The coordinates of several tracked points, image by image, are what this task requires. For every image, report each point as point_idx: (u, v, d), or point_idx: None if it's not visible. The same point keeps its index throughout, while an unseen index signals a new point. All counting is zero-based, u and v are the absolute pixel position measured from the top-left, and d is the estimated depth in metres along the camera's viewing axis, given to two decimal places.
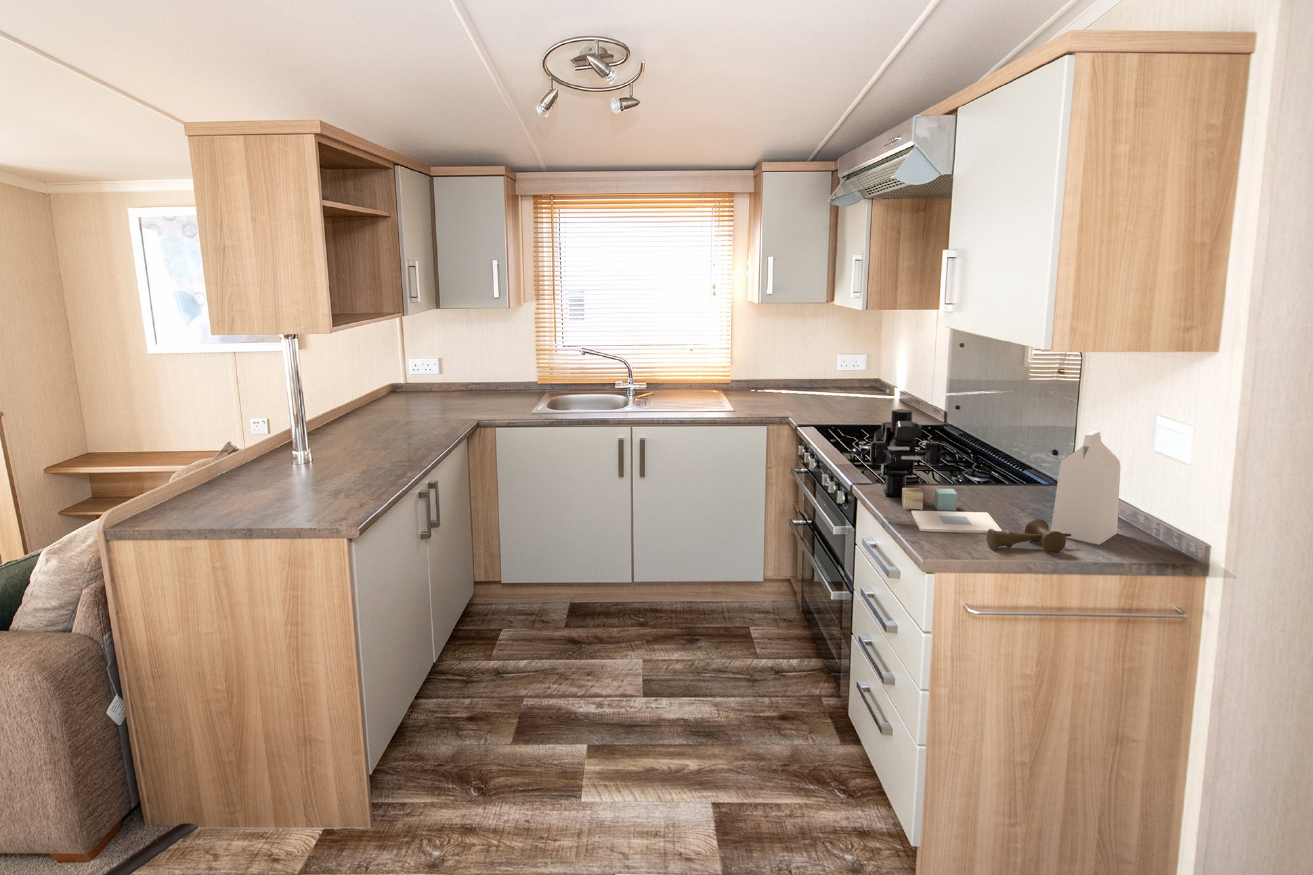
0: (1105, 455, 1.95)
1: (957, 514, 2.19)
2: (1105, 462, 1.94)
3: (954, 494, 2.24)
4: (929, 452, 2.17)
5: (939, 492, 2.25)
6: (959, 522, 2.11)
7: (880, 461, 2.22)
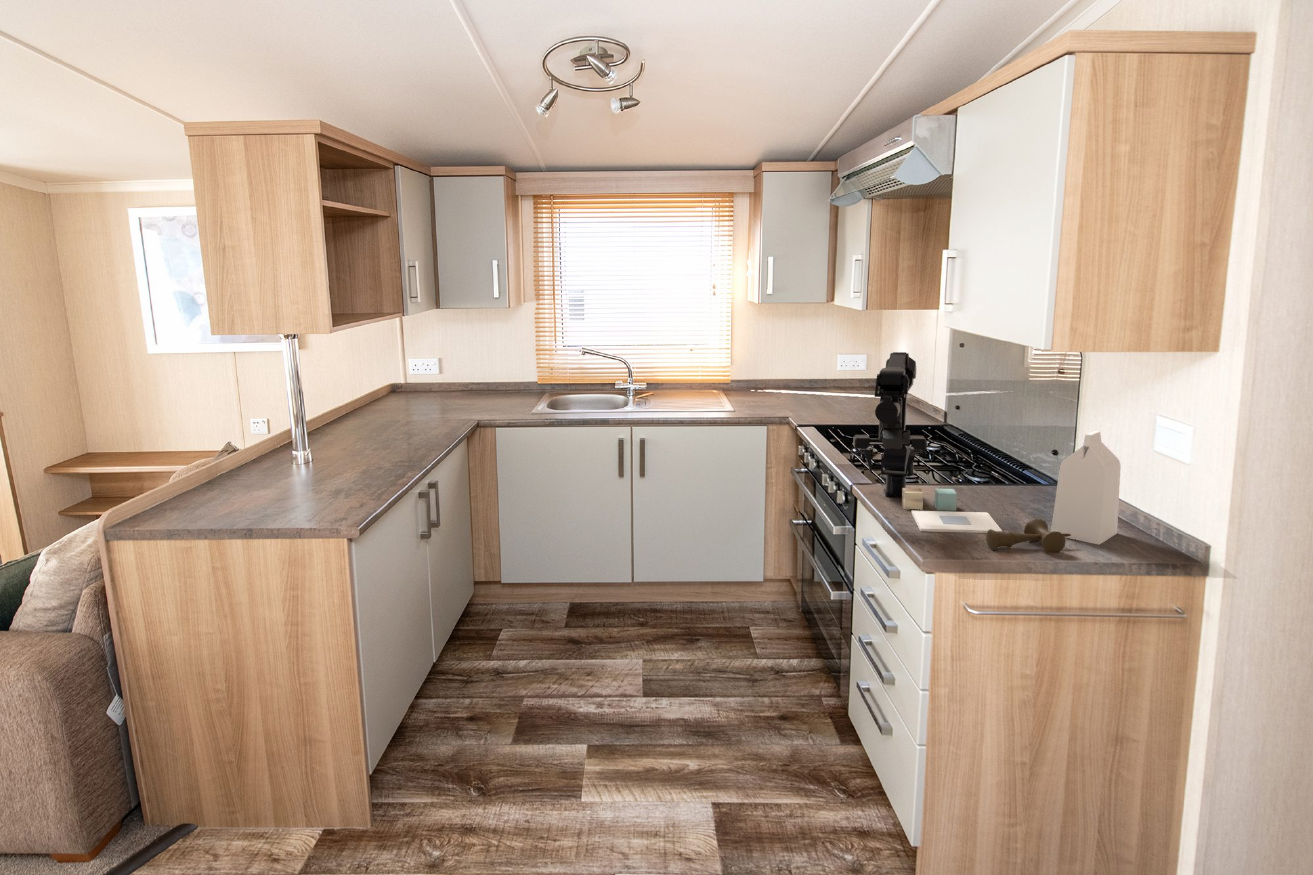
0: (1105, 455, 1.95)
1: (957, 514, 2.19)
2: (1105, 462, 1.94)
3: (954, 494, 2.24)
4: (911, 460, 2.16)
5: (939, 492, 2.25)
6: (959, 522, 2.11)
7: None
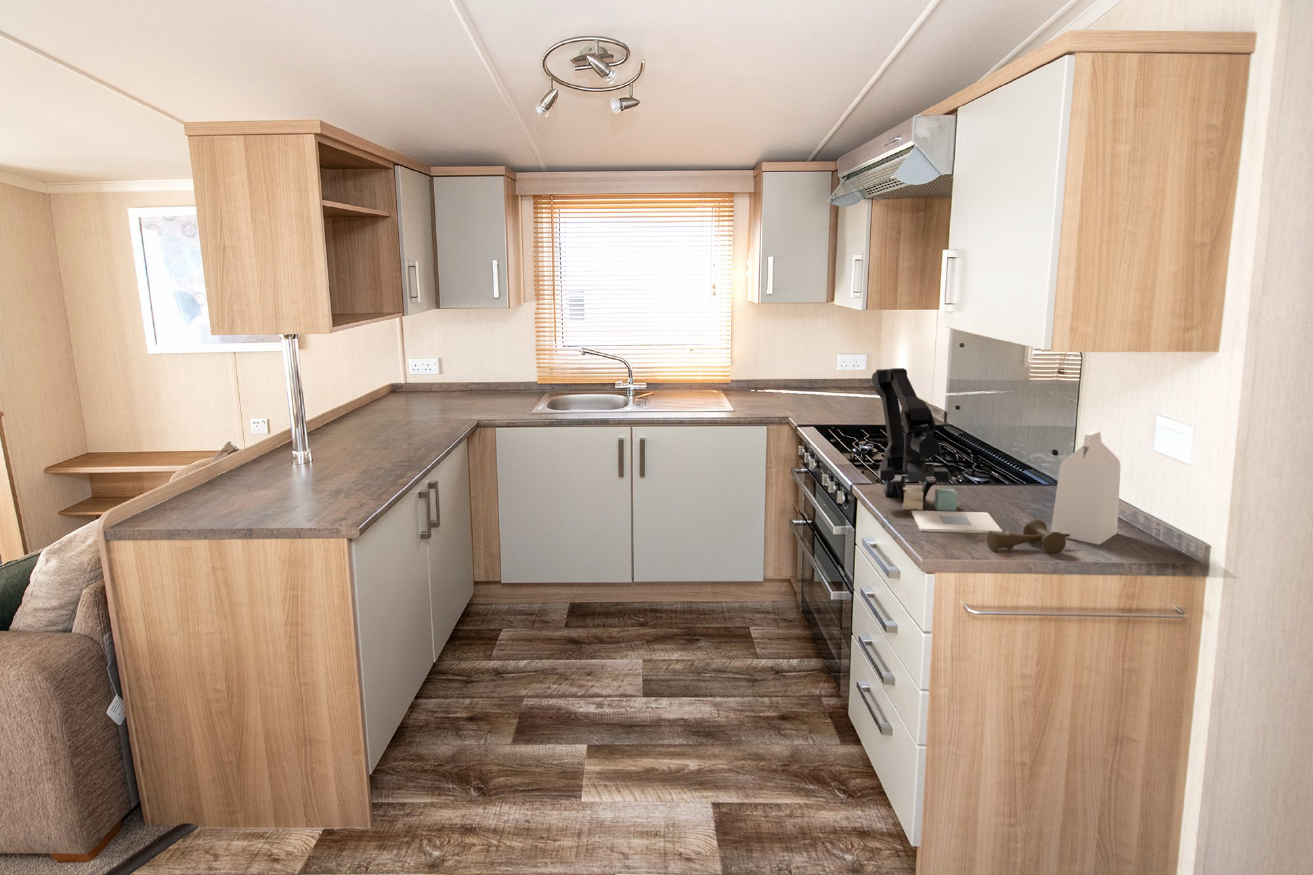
0: (1105, 455, 1.95)
1: (957, 514, 2.19)
2: (1105, 462, 1.94)
3: (954, 494, 2.24)
4: (927, 491, 2.26)
5: (939, 492, 2.25)
6: (959, 522, 2.11)
7: None
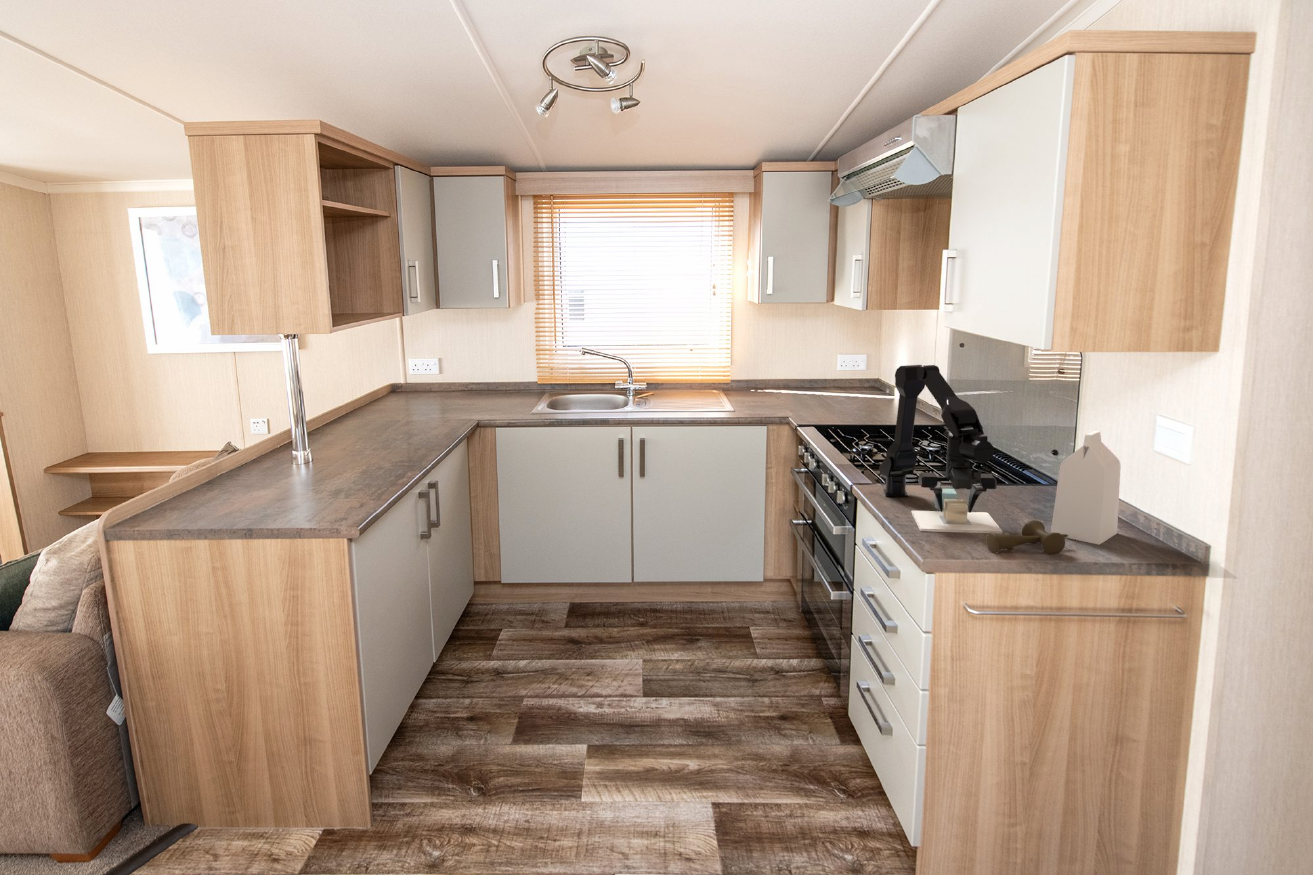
0: (1105, 455, 1.95)
1: None
2: (1105, 462, 1.94)
3: (954, 494, 2.24)
4: (975, 499, 2.10)
5: None
6: None
7: None
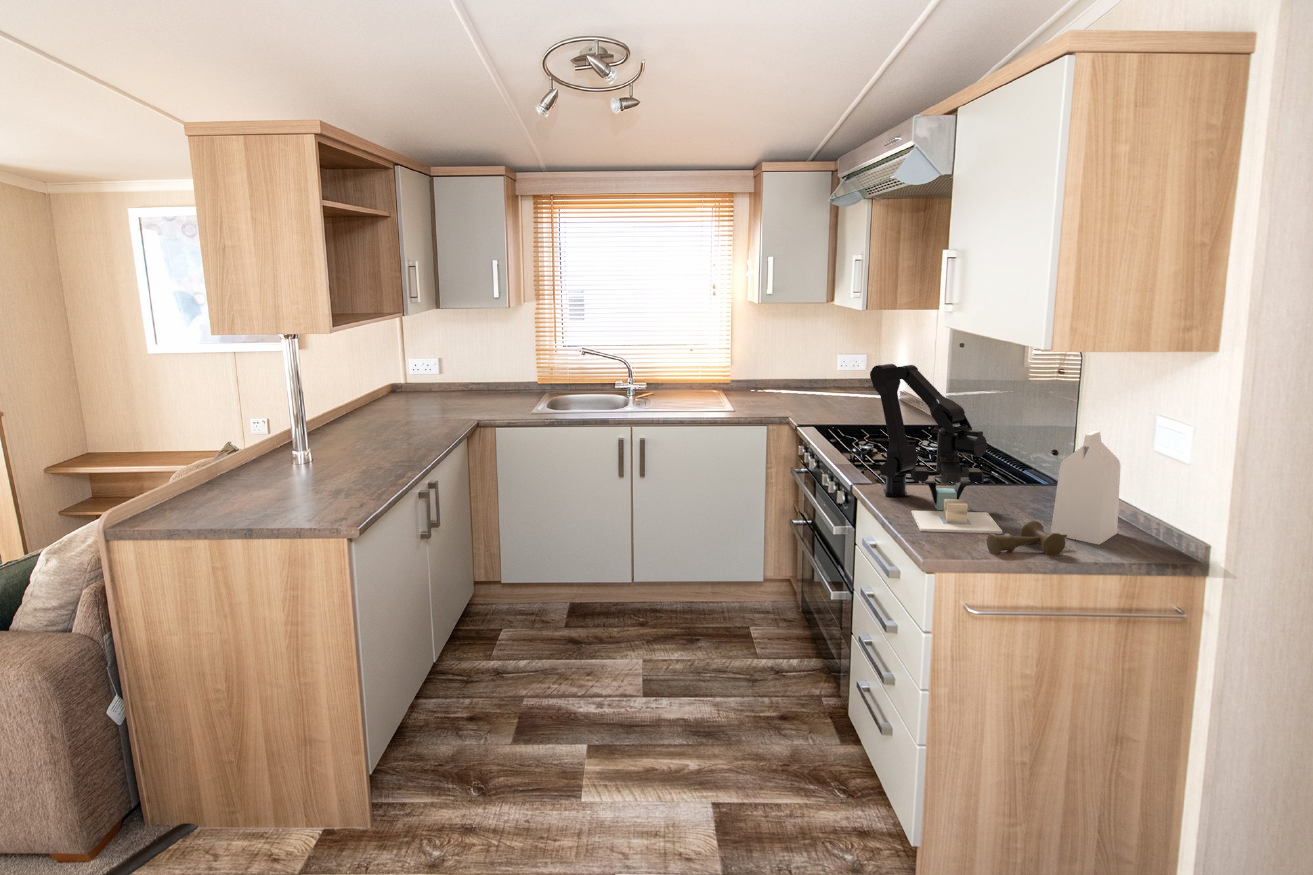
0: (1105, 455, 1.95)
1: None
2: (1105, 462, 1.94)
3: (954, 494, 2.24)
4: (960, 491, 2.25)
5: (939, 491, 2.25)
6: None
7: None
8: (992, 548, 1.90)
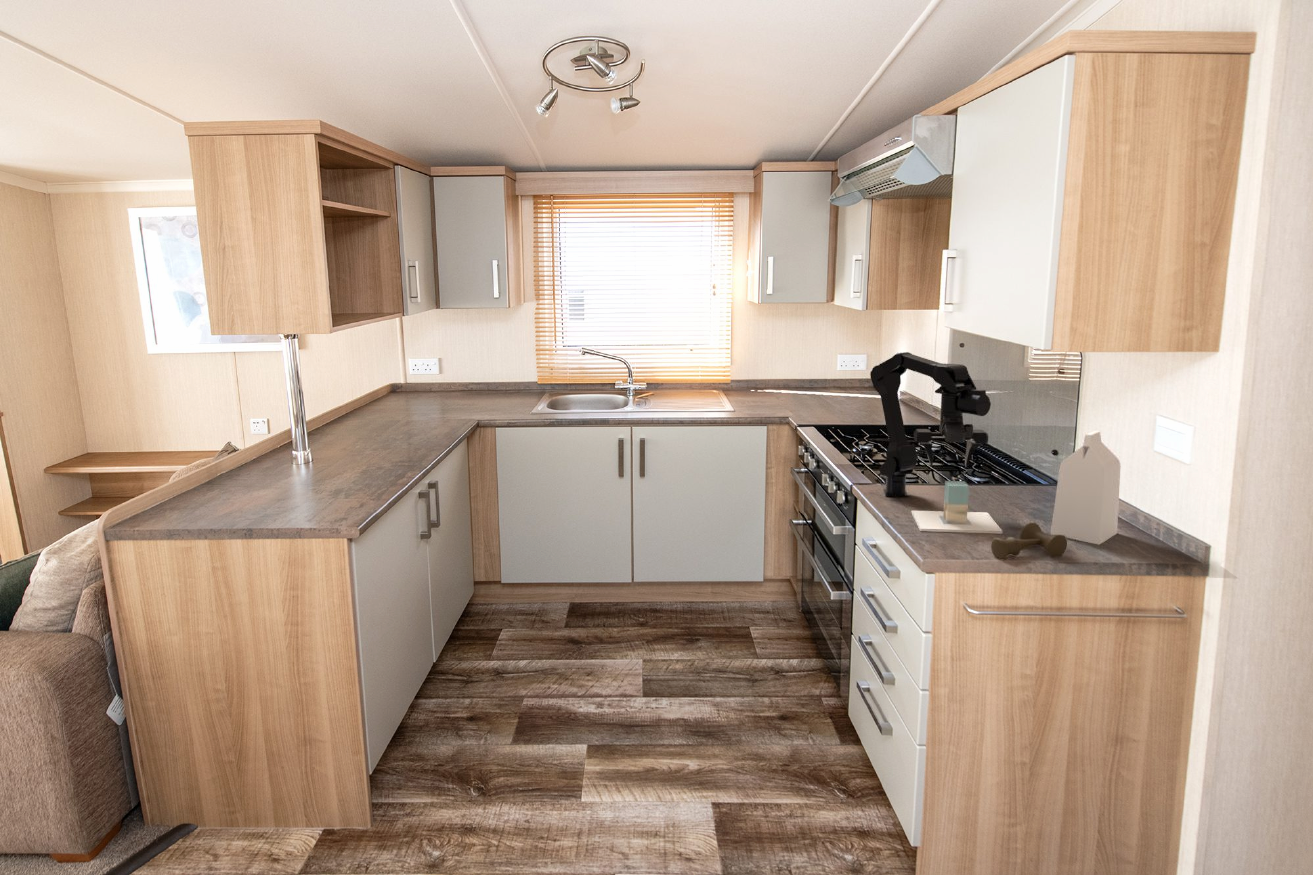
0: (1105, 455, 1.95)
1: None
2: (1105, 462, 1.94)
3: (966, 487, 2.09)
4: (971, 453, 2.20)
5: (949, 484, 2.11)
6: None
7: None
8: (998, 553, 1.87)
